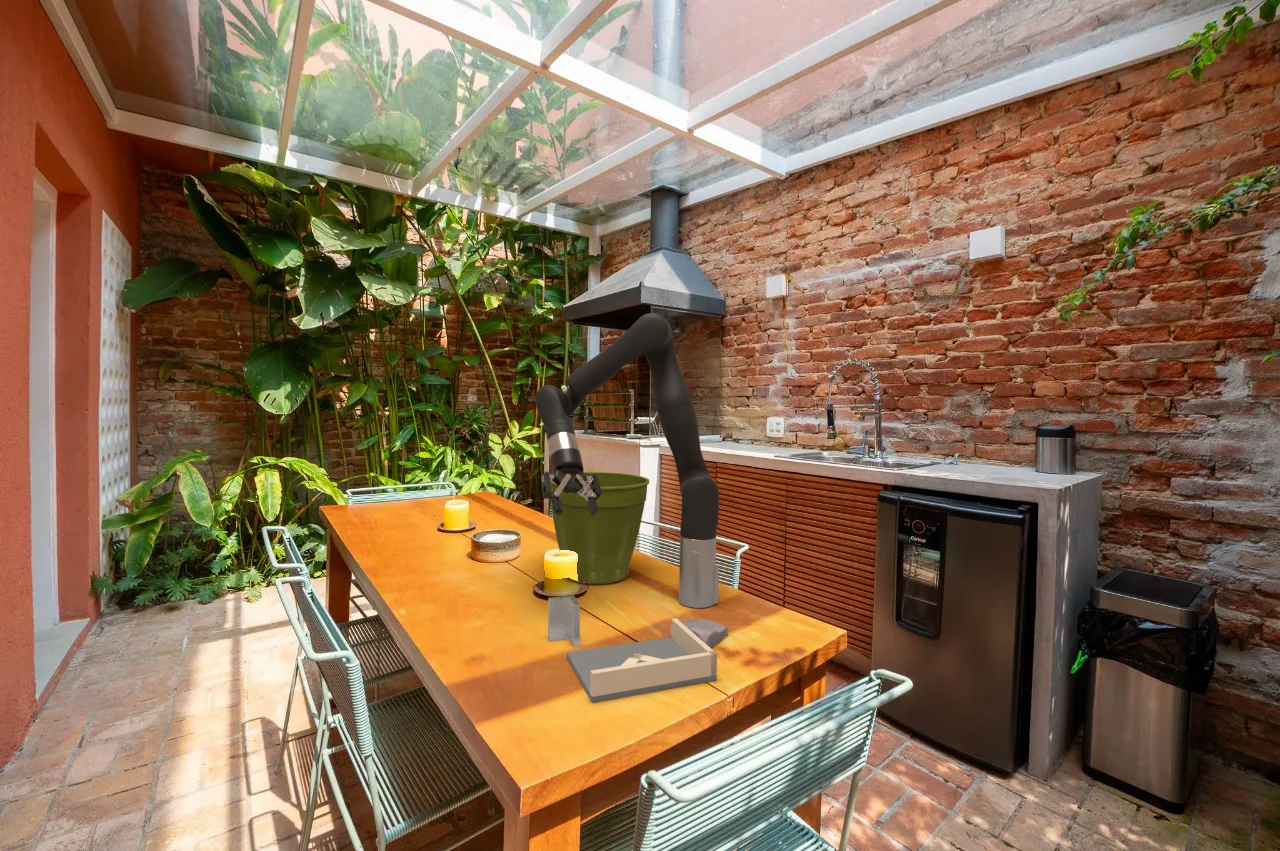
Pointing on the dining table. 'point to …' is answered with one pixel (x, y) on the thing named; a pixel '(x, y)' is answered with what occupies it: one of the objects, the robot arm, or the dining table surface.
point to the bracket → (564, 619)
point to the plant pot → (602, 526)
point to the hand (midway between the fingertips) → (577, 513)
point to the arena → (645, 665)
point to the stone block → (707, 631)
